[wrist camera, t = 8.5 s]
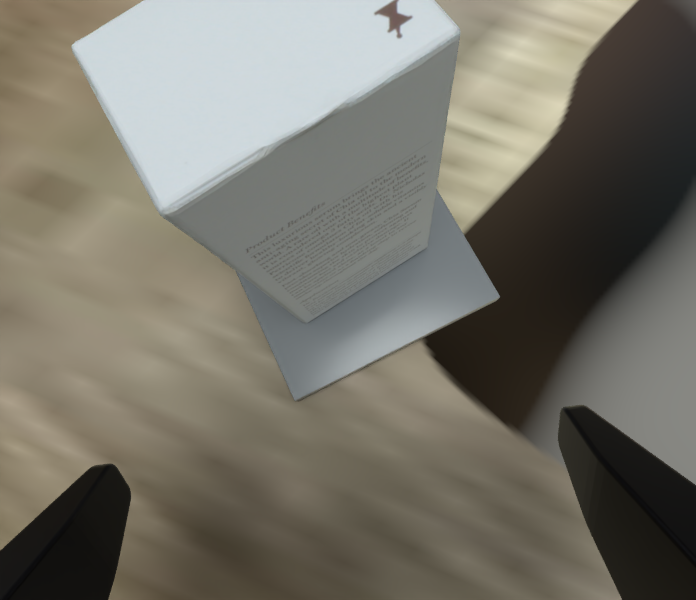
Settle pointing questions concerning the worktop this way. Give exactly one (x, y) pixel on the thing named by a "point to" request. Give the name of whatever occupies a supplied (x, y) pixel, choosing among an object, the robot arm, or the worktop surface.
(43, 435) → the worktop surface
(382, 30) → the skincare box
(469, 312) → the plate
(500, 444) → the worktop surface
